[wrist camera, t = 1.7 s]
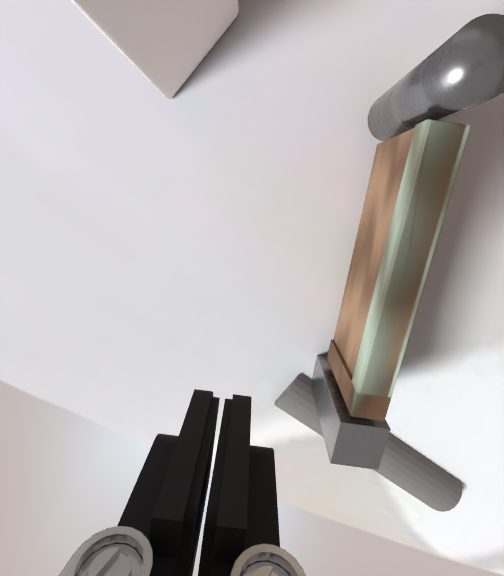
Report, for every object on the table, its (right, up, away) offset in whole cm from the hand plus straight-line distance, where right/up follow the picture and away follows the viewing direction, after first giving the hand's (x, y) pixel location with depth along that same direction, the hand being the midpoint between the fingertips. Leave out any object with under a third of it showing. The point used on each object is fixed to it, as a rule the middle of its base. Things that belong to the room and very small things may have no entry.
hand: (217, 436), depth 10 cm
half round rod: (+12, -10, +21) cm, 26 cm away
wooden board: (+9, +6, +15) cm, 18 cm away
